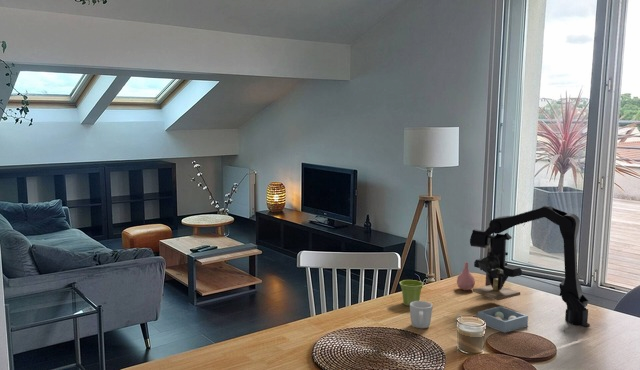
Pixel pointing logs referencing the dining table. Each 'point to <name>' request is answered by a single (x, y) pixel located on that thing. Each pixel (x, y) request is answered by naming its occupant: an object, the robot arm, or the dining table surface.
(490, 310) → the box
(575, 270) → the robot arm
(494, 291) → the lid
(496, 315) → the ball sage
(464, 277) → the pink teardrop shape
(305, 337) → the dining table surface
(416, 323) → the cup
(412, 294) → the plant pot
